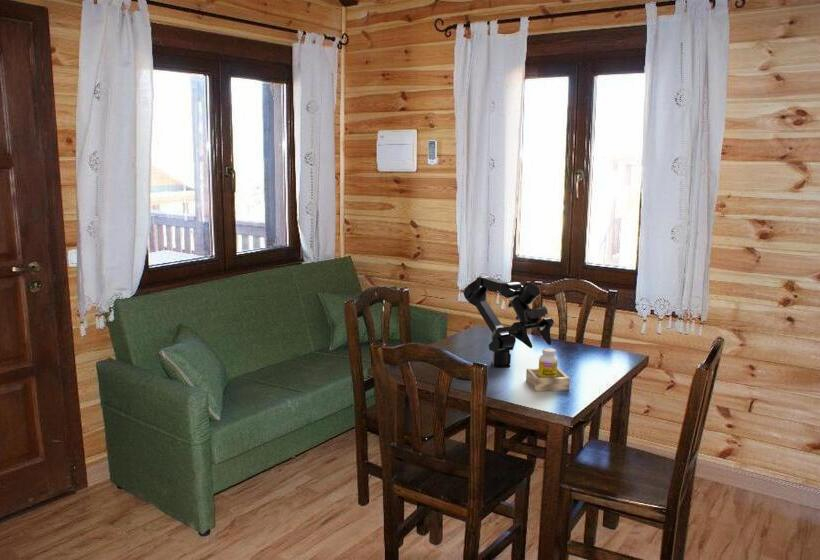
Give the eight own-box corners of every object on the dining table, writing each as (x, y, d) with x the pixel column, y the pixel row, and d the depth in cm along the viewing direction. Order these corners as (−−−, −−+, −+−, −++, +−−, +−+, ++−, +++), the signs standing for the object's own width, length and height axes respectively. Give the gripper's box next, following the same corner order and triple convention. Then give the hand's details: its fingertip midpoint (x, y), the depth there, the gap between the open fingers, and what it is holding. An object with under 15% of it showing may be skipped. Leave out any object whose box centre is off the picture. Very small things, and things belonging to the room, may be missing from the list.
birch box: (535, 391, 250) (536, 379, 249) (526, 380, 262) (526, 368, 261) (569, 390, 251) (569, 378, 251) (558, 379, 264) (558, 367, 263)
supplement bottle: (539, 386, 253) (541, 351, 251) (536, 380, 260) (538, 347, 258) (557, 386, 253) (560, 352, 251) (554, 381, 260) (556, 347, 258)
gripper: (514, 301, 256) (533, 337, 248) (552, 297, 265) (571, 332, 258) (499, 317, 264) (517, 353, 256) (537, 312, 273) (555, 347, 266)
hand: (541, 346), depth 259 cm, fingers open, 9 cm apart
